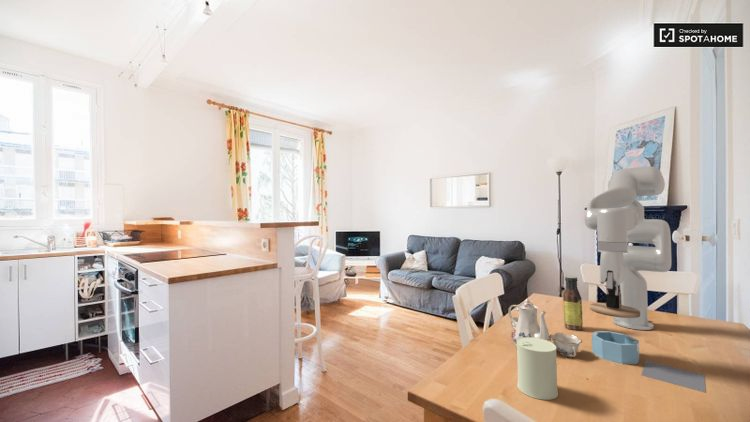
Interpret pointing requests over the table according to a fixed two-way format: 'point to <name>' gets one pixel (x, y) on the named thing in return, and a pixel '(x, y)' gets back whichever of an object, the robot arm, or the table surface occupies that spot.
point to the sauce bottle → (572, 305)
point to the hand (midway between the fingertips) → (613, 305)
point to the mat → (674, 376)
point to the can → (537, 368)
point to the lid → (615, 310)
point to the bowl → (615, 347)
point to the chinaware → (540, 329)
